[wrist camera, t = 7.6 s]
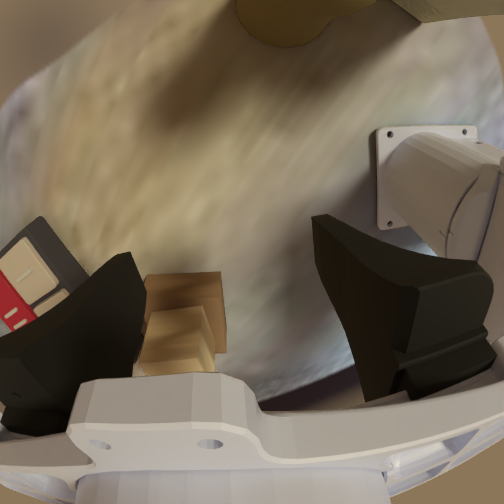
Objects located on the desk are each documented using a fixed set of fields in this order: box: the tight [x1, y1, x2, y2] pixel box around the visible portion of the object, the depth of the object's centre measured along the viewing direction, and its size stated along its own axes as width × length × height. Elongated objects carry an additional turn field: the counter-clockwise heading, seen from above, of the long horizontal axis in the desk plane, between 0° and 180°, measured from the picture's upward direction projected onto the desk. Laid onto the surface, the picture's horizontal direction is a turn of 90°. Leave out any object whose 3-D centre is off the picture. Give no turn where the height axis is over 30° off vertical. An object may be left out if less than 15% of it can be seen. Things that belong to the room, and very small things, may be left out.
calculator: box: [0, 216, 144, 364], centre depth 25 cm, size 11×4×15 cm
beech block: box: [139, 305, 215, 376], centre depth 22 cm, size 4×4×5 cm
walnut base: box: [144, 272, 227, 353], centre depth 25 cm, size 6×6×4 cm
